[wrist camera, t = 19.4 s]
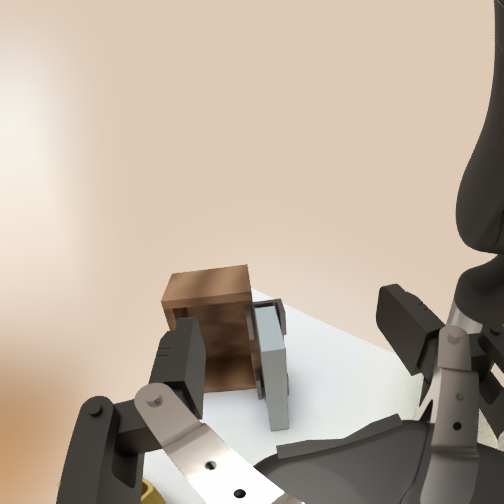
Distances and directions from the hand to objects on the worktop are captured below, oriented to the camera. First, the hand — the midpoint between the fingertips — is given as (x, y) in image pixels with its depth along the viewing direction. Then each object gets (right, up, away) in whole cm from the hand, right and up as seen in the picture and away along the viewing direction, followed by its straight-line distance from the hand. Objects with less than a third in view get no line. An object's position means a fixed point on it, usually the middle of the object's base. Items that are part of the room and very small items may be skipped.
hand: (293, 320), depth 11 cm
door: (+2, -20, +24) cm, 31 cm away
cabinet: (-6, -18, +32) cm, 37 cm away
